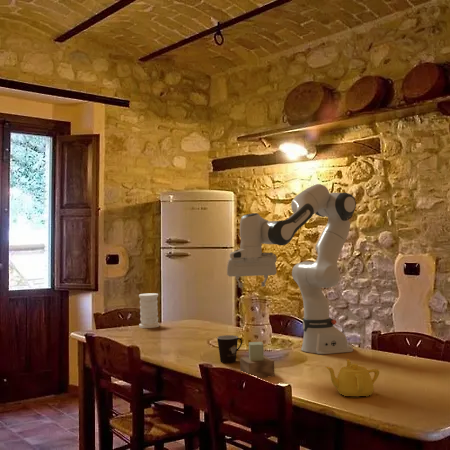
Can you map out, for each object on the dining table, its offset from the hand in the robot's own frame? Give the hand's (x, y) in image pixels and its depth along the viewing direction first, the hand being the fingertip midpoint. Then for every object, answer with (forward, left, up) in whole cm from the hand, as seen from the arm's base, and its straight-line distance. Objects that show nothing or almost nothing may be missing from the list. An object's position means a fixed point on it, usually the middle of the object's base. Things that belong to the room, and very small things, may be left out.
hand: (252, 286), depth 245 cm
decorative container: (+50, -94, -31) cm, 111 cm away
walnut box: (+1, +19, -31) cm, 37 cm away
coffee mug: (+9, -4, -31) cm, 33 cm away
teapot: (-28, +48, -31) cm, 64 cm away
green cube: (+1, +19, -25) cm, 31 cm away
